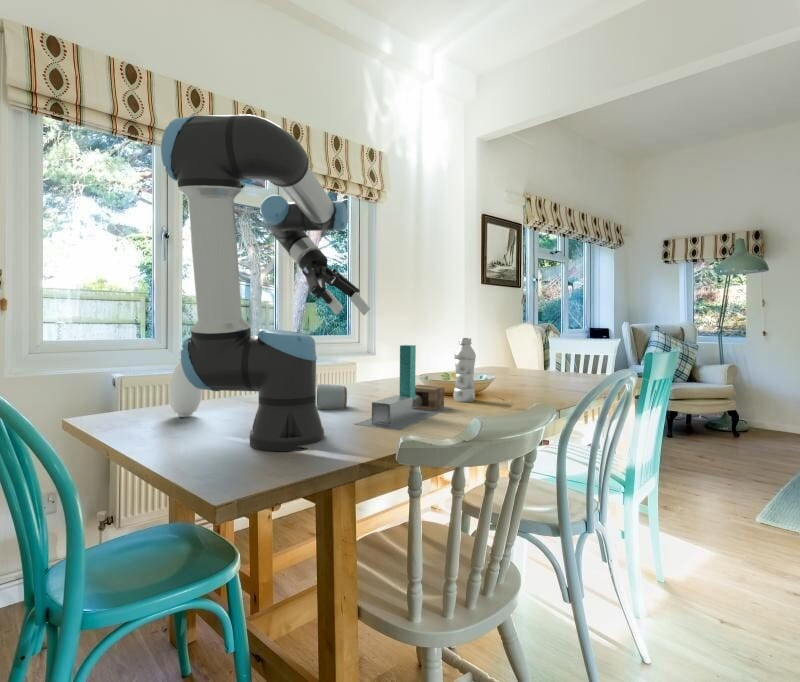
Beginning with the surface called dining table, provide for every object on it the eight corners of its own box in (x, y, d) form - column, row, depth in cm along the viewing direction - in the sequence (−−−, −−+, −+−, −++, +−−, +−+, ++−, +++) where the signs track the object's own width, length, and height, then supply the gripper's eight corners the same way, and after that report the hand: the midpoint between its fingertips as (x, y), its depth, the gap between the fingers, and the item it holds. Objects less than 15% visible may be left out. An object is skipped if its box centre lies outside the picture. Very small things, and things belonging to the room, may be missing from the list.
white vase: (201, 413, 137) (200, 346, 136) (201, 418, 129) (200, 347, 128) (169, 414, 134) (168, 346, 133) (167, 420, 126) (166, 348, 125)
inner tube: (392, 418, 121) (392, 347, 120) (381, 416, 122) (381, 347, 121) (422, 406, 136) (422, 344, 135) (412, 405, 137) (412, 344, 136)
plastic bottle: (463, 401, 160) (464, 337, 159) (479, 404, 154) (480, 338, 153) (448, 403, 156) (449, 337, 155) (464, 406, 150) (465, 338, 149)
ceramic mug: (347, 413, 139) (347, 384, 138) (317, 414, 137) (317, 385, 137) (343, 406, 149) (343, 380, 149) (315, 407, 147) (315, 381, 147)
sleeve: (389, 426, 118) (389, 404, 118) (371, 424, 120) (371, 402, 120) (412, 417, 128) (412, 396, 128) (395, 415, 131) (395, 395, 130)
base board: (399, 434, 114) (399, 429, 114) (354, 428, 120) (354, 424, 120) (451, 411, 143) (451, 407, 143) (413, 407, 148) (413, 403, 148)
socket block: (435, 410, 138) (435, 389, 137) (408, 408, 141) (408, 387, 141) (444, 407, 143) (444, 386, 143) (418, 404, 147) (418, 384, 146)
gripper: (327, 271, 156) (369, 320, 150) (271, 263, 134) (317, 321, 128) (342, 253, 153) (385, 302, 147) (287, 242, 131) (335, 300, 125)
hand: (354, 311), depth 138 cm, fingers open, 13 cm apart
